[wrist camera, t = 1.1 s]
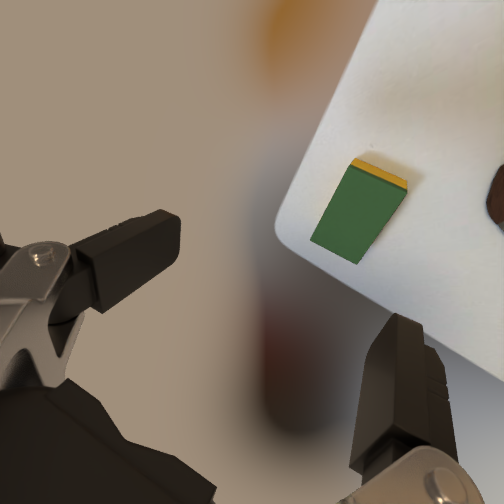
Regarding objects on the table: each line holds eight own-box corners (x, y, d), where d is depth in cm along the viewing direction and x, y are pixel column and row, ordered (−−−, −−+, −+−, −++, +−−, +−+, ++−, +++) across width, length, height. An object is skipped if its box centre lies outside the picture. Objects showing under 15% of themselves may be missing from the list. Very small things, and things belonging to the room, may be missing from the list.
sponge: (318, 225, 27) (309, 240, 24) (355, 157, 23) (348, 166, 20) (361, 247, 26) (356, 265, 23) (407, 180, 22) (407, 192, 19)
